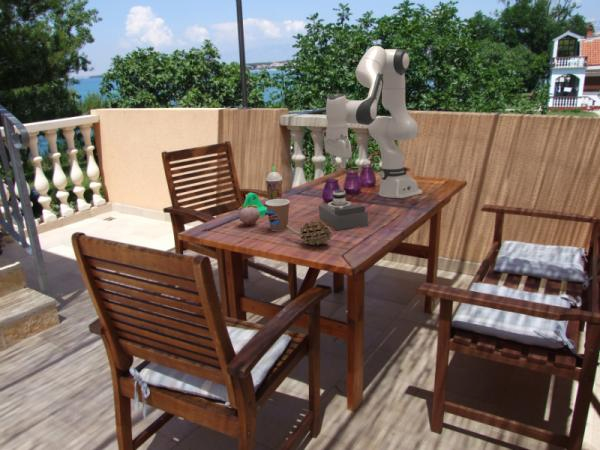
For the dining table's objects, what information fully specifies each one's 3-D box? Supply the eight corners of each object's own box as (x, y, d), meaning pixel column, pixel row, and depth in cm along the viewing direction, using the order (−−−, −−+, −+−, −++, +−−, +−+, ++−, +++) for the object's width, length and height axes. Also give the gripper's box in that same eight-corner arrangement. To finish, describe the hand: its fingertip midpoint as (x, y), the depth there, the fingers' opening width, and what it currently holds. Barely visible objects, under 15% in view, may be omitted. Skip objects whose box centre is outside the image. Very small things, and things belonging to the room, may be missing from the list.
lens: (343, 210, 233) (342, 188, 230) (348, 214, 228) (347, 191, 225) (331, 212, 231) (330, 190, 228) (336, 216, 226) (335, 193, 223)
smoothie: (265, 208, 255) (262, 168, 249) (270, 203, 263) (267, 164, 257) (281, 208, 253) (279, 168, 247) (286, 203, 261) (283, 164, 255)
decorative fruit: (256, 221, 235) (255, 199, 232) (262, 225, 228) (260, 203, 225) (236, 224, 232) (234, 202, 229) (241, 229, 225) (239, 206, 222)
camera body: (347, 213, 239) (347, 194, 236) (367, 225, 221) (367, 204, 218) (319, 218, 234) (318, 198, 231) (337, 230, 216) (336, 209, 213)
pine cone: (338, 243, 201) (337, 219, 198) (325, 251, 193) (324, 226, 190) (291, 235, 213) (289, 212, 210) (277, 243, 205) (275, 219, 202)
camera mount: (250, 219, 239) (248, 197, 235) (241, 216, 244) (239, 195, 241) (271, 213, 246) (269, 192, 242) (262, 210, 251) (260, 190, 248)
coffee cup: (262, 229, 222) (260, 202, 219) (280, 223, 229) (278, 197, 226) (278, 234, 215) (276, 206, 212) (296, 228, 222) (294, 201, 218)
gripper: (355, 135, 210) (355, 169, 215) (334, 130, 229) (335, 161, 233) (340, 137, 208) (341, 171, 213) (321, 131, 227) (322, 163, 231)
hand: (338, 166), depth 223 cm, fingers open, 8 cm apart
